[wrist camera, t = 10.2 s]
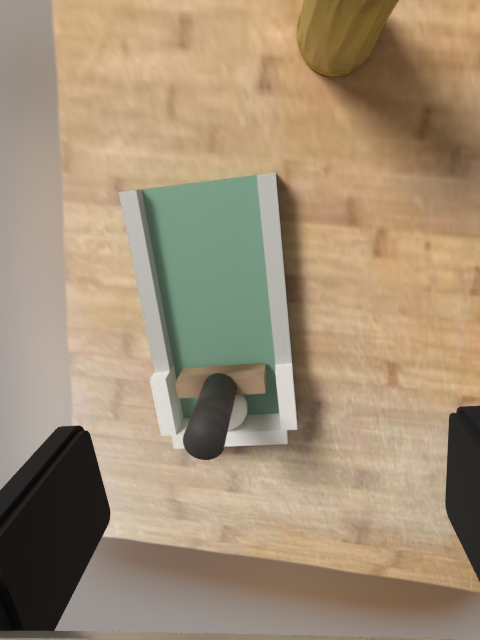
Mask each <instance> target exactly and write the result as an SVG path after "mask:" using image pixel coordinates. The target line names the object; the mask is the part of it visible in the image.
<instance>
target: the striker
mask: <svg viewBox="0 0 480 640" xmlns="http://www.w3.org/2000/svg"><path fill="white" fill-rule="evenodd" d="M266 381H267V374H266V365H265V363H254V364H239V365H224V366H209V367H194V368H183V369H182V371H181V373H180V375H179V377H178V379H177V381H176V383H175V386H176V391H177V397H178V398H193V397H198V400H197V402H196V405H195V407H194V410H193V412H192V415H191V417H190V420H189V423H188V425H187V428H186V430H185V433H184V436H183V445H184V447H185V449H186V450H187V452H188V453H189V454H190V455H192V456H193V457H195V458H198V459H202V460H210V459H213V458H216V457H217V456H219V455H220V454H221V453H222V451H223V449H224V446H225V441H226V437H227V432H228V427H229V423H230V418H231V414H232V409H233V405H234V400H235V396H236V395H245V394H263V393H266Z"/></svg>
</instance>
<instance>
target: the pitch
mask: <svg viewBox="0 0 480 640" xmlns="http://www.w3.org/2000/svg"><path fill="white" fill-rule="evenodd" d="M119 196H120V201H121V206H122V211H123V216H124V221H125V226H126V231H127V236H128V241H129V246H130V251H131V256H132V261H133V266H134V272H135V277H136V282H137V287H138V292H139V297H140V302H141V307H142V312H143V317H144V322H145V327H146V332H147V337H148V342H149V347H150V352H151V357H152V362H153V367H154V372H155V373H154V374H153V376H152V377H151V379H150V383H151V388H152V393H153V398H154V403H155V407H156V412H157V417H158V422H159V427H160V432H161V436H169V435H171V436H172V441H173V446H174V449H178V448H185V447H184V445H183V436H184V433H185V430H186V428H187V425H188V423H189V420H190V417H191V415H192V412H193V410H194V407H195V405H196V402H197V400H198V397H193V398H178V397H177V391H176V386H175V383H176V381H177V379H178V377H179V375H180V373H181V371H182V369H183V368H194V367H209V366H224V365H239V364H254V363H265V365H266V374H267V381H266V393H263V394H245V395H243V396H244V397H245V399H246V402H247V408H248V409H247V415H246V418H245V420H244V421H243V422H242V423H241V424H240V425H239V426H238V427H236V428H234V429H231V430H228V432H227V437H226V441H225V446H224V447H228V446H252V445H277V444H288V430H297V412H296V401H295V389H294V377H293V366H292V354H291V342H290V330H289V319H288V307H287V295H286V284H285V272H284V260H283V249H282V237H281V225H280V213H279V202H278V190H277V178H276V173H268V174H260V175H254V176H247V177H239V178H231V179H223V180H215V181H207V182H199V183H191V184H183V185H175V186H167V187H159V188H151V189H143V190H133V191H125V192H119Z"/></svg>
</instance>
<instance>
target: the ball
mask: <svg viewBox="0 0 480 640" xmlns="http://www.w3.org/2000/svg"><path fill="white" fill-rule="evenodd" d="M247 409H248V408H247V402H246V399H245V397H244V396H243V395H236V396H235V400H234V405H233V409H232V414H231V418H230V423H229V427H228V430H231V429H234V428H236V427H238V426H239V425H240V424H241V423H242V422H243V421H244V420H245V418H246V415H247Z"/></svg>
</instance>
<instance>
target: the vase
mask: <svg viewBox="0 0 480 640" xmlns="http://www.w3.org/2000/svg"><path fill="white" fill-rule="evenodd" d="M398 1H399V0H304V2H303V7H302V11H301V13H300V16H299V20H298V25H297V43H298V47H299V50H300V53H301V55H302V57H303V59H304V60H305V62H306V63H307V64H308V65H309V66H310V67H311V68H312V69H313V70H315V71H316V72H318V73H320V74H323V75H326V76H342V75H346V74H349V73H351V72H353V71H354V70H356V69H357V68H358V67H360V66H361V65H362V64H363V63H364V62H365V61H366V60H367V59H368V58H369V56H370V55H371V53H372V52H373V50H374V48H375V46H376V43H377V41H378V37H379V35H380V33H381V30H382V29H383V27H384V25H385V23H386V21H387V19H388V17H389V15H390V14H391V12H392V11H393V9H394V8H395V6H396V4H397V3H398Z"/></svg>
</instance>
